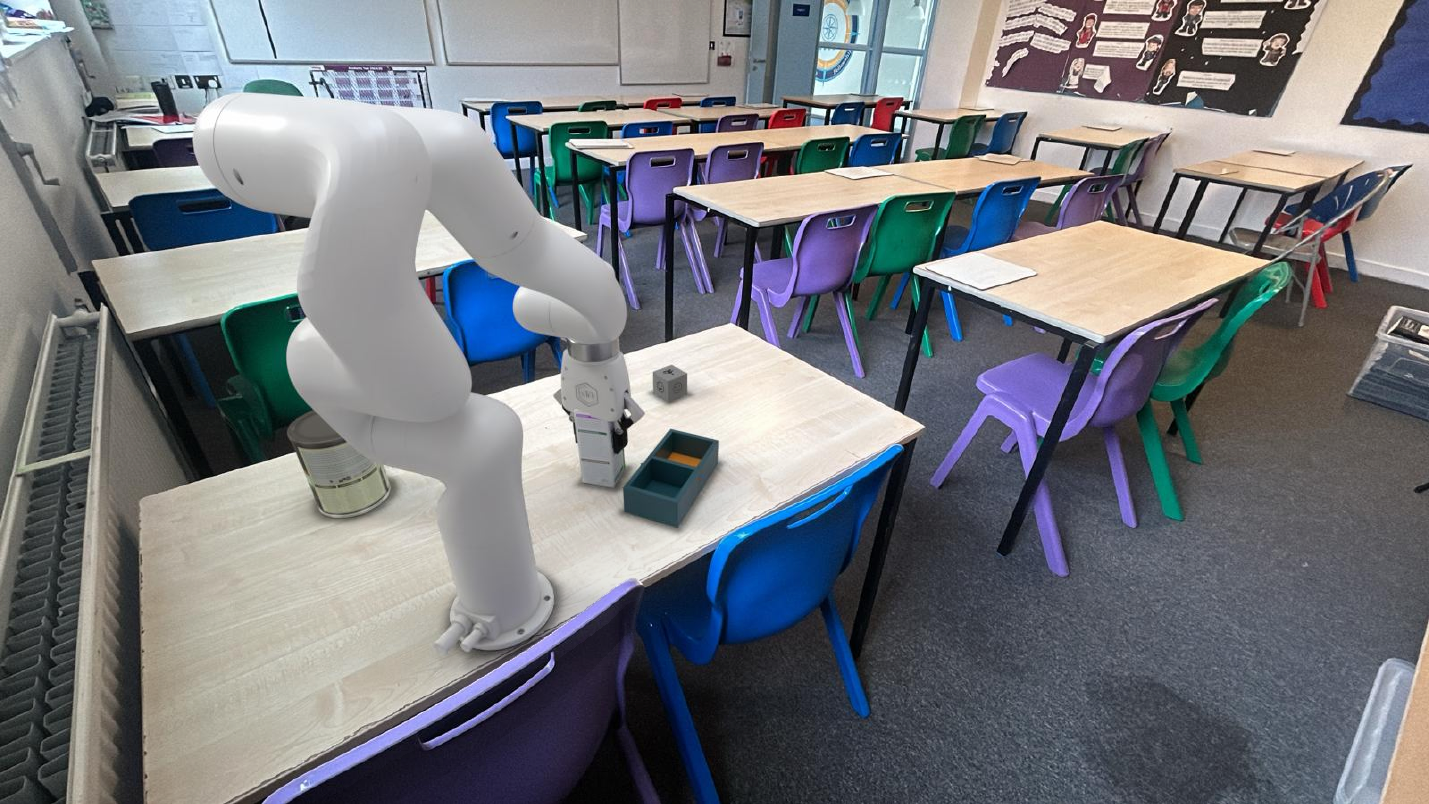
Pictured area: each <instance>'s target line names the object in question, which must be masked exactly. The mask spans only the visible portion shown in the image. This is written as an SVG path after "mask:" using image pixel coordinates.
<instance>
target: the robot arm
mask: <svg viewBox="0 0 1429 804" xmlns="http://www.w3.org/2000/svg"><path fill="white" fill-rule="evenodd" d="M192 146H193V153H194V156H195V158H196V161H197V164H198V166H199V168H200V169H201V171H202V173H203V174H204V176H205V177H206V179H208V181H209V182H210V183H211V184H212V186H213V187H214V188H215V189H217V190H218V191H219V192H220V193H222V194H223V195H224V196H225V197H227V198H228V199H231V200H232V201H233V202H235V203H237V204H239V205H241V206H244V207H246V208H249V209H252V210H256V211H260V212H264V213H269V214H278V215H283V216H284V215H285V216H293V217H299V218H307V219H310V221H309V225H308V228H307V233H306V237H305V241H304V246H303V251H302V253H301V254H302V255H301V258H300V263H299V267H298V271H297V279H296V293H297V298H298V302H299V305H300V307H301V309H302V311H303V313H304V315H305V317H304V318H303V319H302V320H301V321H300V322H299V323H298V324H297V326H296V327H295V328H294V330H293V331H292V332H291V335H290V337H289V339H288V343H287V347H286V353H285V354H286V355H285V356H286V367H287V372H288V375H289V378H290V381H291V383H292V386H293V387H294V389H295V390H296V392H297V394H298V395H299V396H300V397H301V398H302V400H304V402H305V403H306V404H307V405H308V406H309V407H310V408H311V409H312V411H313V410H314V411H315V412H316V413H317V414H318V415H319V416H320V417H322V418H323V419H324V420H325V421H326V422H327V423H328V424H329V425H330V426H331V427H332V428H333V429H334V430H335V431H336V432H337V433H338V434H339V435H340V436H341V437H342V438H343V439H345V440H346V441H347V442H348V443H349V444H350V445H351V446H352V447H353V448H354V449H355V450H357V451H358V452H359V453H361V454H362V455H363V456H365V457H366V458H368V459H370V460H372V461H374V462H377V463H380V464H383V465H384V466H386V467H390V468H394V469H398V470H402V471H406V472H409V473H414V474H418V475H421V476H424V477H427V478H431V479H435V480H437V481H438V482H441V484H442V485H444V487H445V489H444V491H443V492H442V493H441V495H440V497H439V498H438V500H437V503H436V508H435V517H436V523H437V527H438V531H439V534H440V538H441V541H442V545H443V548H444V551H445V555H446V558H447V563H448V567H449V570H450V574H451V577H452V580H453V585H454V588H455V591H456V594H457V595H456V596H455V598H454V600H453V602H452V605H451V607H450V613H449V620H450V621H449V622H450V626H449V627H448V628H447V630H446V631H444V632H443V633H442V634H441V635H440V636H439V637H438V638H437V639H436V641H434V642H433V644H432V647H433V648H434V650H435V651H436V652H437V653H438V654H440V655H441V656H446V655H448V654H449V652H450V651H451V650H452V649H453V648H454V647H455V645H456V644H457V643H458V641H459V642H461V643H460V644H459V647H460V649H461V650H462V651H463V652H465V653H471V651H472V650H473V649H476V650H482V651H497V650H498V651H499V650H503V649H507V648H511V647H514V646H516V645H520V644H521V643H523V642H525V641H527V640H528V639H530V638H532V637H533V636H534V635H535V634H537V633H538V632H539V631H540V630H541V629H542V628H543V627H544V625H545V624H546V623H547V621H548V620H549V618H550V617H551V615H552V612H553V609H554V605H555V596H554V589H553V586H552V584H551V581H549V579H548V578H547V577H546V576H545V575H544V574H542V572H540V571H538V570H537V564H536V559H535V558H536V557H535V551H534V546H533V540H532V535H531V529H530V521H529V517H528V512H527V511H528V510H527V506H526V500H525V494H524V487H523V486H524V485H523V476H522V475H523V472H522V471H523V469H522V463H523V448H524V428H523V427H524V426H523V422H522V421H521V420H522V419H521V418H520V416H519V415H518V413H517V412H516V411H515V410H514V409H513V408H512V407H511V406H509V405H508V404H506V403H504V402H503V401H501V400H500V399H499V400H498V399H496V398H493V397H491V396H488V395H484V394H480V393H476V392H472V386H473V381H472V380H473V379H472V373H471V370H470V366H469V364H468V361H467V358H466V357H465V355H464V353H463V351H462V349H461V348H460V346H459V345H458V343H457V341H456V339H455V338H454V337H453V335H452V333H451V332H450V329H449V328H448V327H447V325H446V324H445V322H444V321H443V318H442V317H441V316H440V314H439V312H438V311H437V309H436V307H435V305H433V303H432V301H431V300H430V298H429V296H428V294H427V293H426V291H425V289H424V287H423V285H422V283H421V281H420V279H419V275H418V273H417V266H416V256H417V249H418V248H417V247H418V243H419V236H420V233H421V228H422V224H423V220H424V217H425V214H426V211H427V212H429V213H430V214H432V216H433V217H434V218H435V220H437V221H438V222H439V224H440V225H442V227H443V228H444V229H446V230H447V232H448V233H449V234H450V235H451V237H453V238H454V240H455V241H456V242H457V243H458V244H459V246H461V248H463V250H464V251H465V252H466V253H467V254H468V255H469V256H470V258H471V259H472V260H473V261H474V262H475V263H476V264H477V265H478V266H479V267H480V268H481V269H483V270H484V271H485V272H487V273H489V274H491V275H493V276H495V277H497V278H500V279H502V280H504V281H507V282H509V283H511V284H513V285H515V286H519V288H518V289H517V291H516V292H515V294H514V298H513V301H512V312H513V315H514V318H515V320H516V321H517V323H518V324H519V325H520V326H521V327H522V328H524V329H525V330H527V331H529V332H532V333H536V334H540V335H546V336H552V337H557V338H560V340H561V341H564V342H566V348H565V350H563V352H562V357H561V365H560V388H559V389H558V390H557V391H556V392H554V393H553V394H552V397H553V398H554V400H555V401H556V402H557V403H558V404H559V405H561V409H562V410H563V411H564V413H566V414H567V416H568V421H570V422H571V423H572V428H573V435H574V439H575V444H578V443H577V434H576V426H575V418H574V410H575V409H578V410H584V411H585V412H587V413H589V414H590V416H591V417H593V418H597V419H601V420H605V421H610V422H611V423H612V425H613V427H614V429H615V431H614V432H613V434H612V437H613V450H614V453H615V454H619V453H620V451H621V450H622V449H623V448H624V449H625V448H626V447H627V446H628V443H629V435H628V429H630V428H631V427H632V426H633V425H634V424H636V423H638V421H640V420H641V419H642V418H643V417H644V416H645V414H646V413H645V411H644V410H643V408H642V407H641V406H640V405H639V404H638V403H637V402H636V401H635V400H634V398H633V397H632V391H631V383H630V376H629V371H628V366H627V363H626V358H625V355H624V353H623V352H622V351H621V350H620V336H621V334H622V333H623V331H624V329H625V327H626V324H627V317H628V307H627V302H626V297H625V295H624V293H623V290H622V288H621V285H620V283H619V281H618V280H617V278H616V271H615V269H614V267H613V266H612V265H611V263H609V262H607V261H606V260H603V258H602V257H601V256H599V255H598V254H597V253H596V252H595V251H593V250H592V249H590V248H589V247H587V246H586V245H585V244H583V243H582V242H580V241H579V240H578V239H576V238H575V237H573V236H572V235H570V234H568V233H567V232H565V231H564V230H563V229H561V228H560V227H558V226H556V225H555V224H553V223H551V222H550V221H549V220H547V219H545V218H544V217H542V215H541V214H540V213H539V211H538V209H537V208H536V207H535V205H534V204H533V202H532V200H531V199H530V197H529V195H528V194H527V193H526V191H525V189H524V188H523V187H522V185H521V183H520V182H519V181H518V179H517V177H516V176H515V174H514V173H513V171H512V169H511V168H510V167H509V165H508V163H507V162H506V160H505V159H504V158H503V156H502V154H501V153H500V151H499V150H498V148H497V146H496V145H495V144H494V142H493V141H492V139H491V138H490V136H489V134H487V131H485V130H484V129H483V128H482V126H480V125H479V123H477V122H475V120H473V119H471V118H470V117H468V116H466V115H463V114H461V113H459V112H455V111H451V110H446V109H438V108H426V107H414V106H413V107H412V106H403V105H402V106H401V105H386V104H373V103H370V102H364V101H357V100H351V99H350V100H349V99H344V98H343V99H342V98H334V97H333V98H331V97H317V96H301V95H300V96H299V95H288V94H275V93H263V92H248V91H247V92H244V91H243V92H233V93H229V94H228V93H227V94H224V95H222V96H220V97H218V98H216V99H214V100H212V101H210V103H208V105H206V106H205V107H204V108H203V109H202V110H201V112H200V114H199V115H198V116H197V118H196V121H195V123H194V126H193V131H192ZM626 411H628V413H630V415H629V416H628V414H627V412H626ZM619 419H620V420H621V423H620V421H619Z"/></svg>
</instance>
